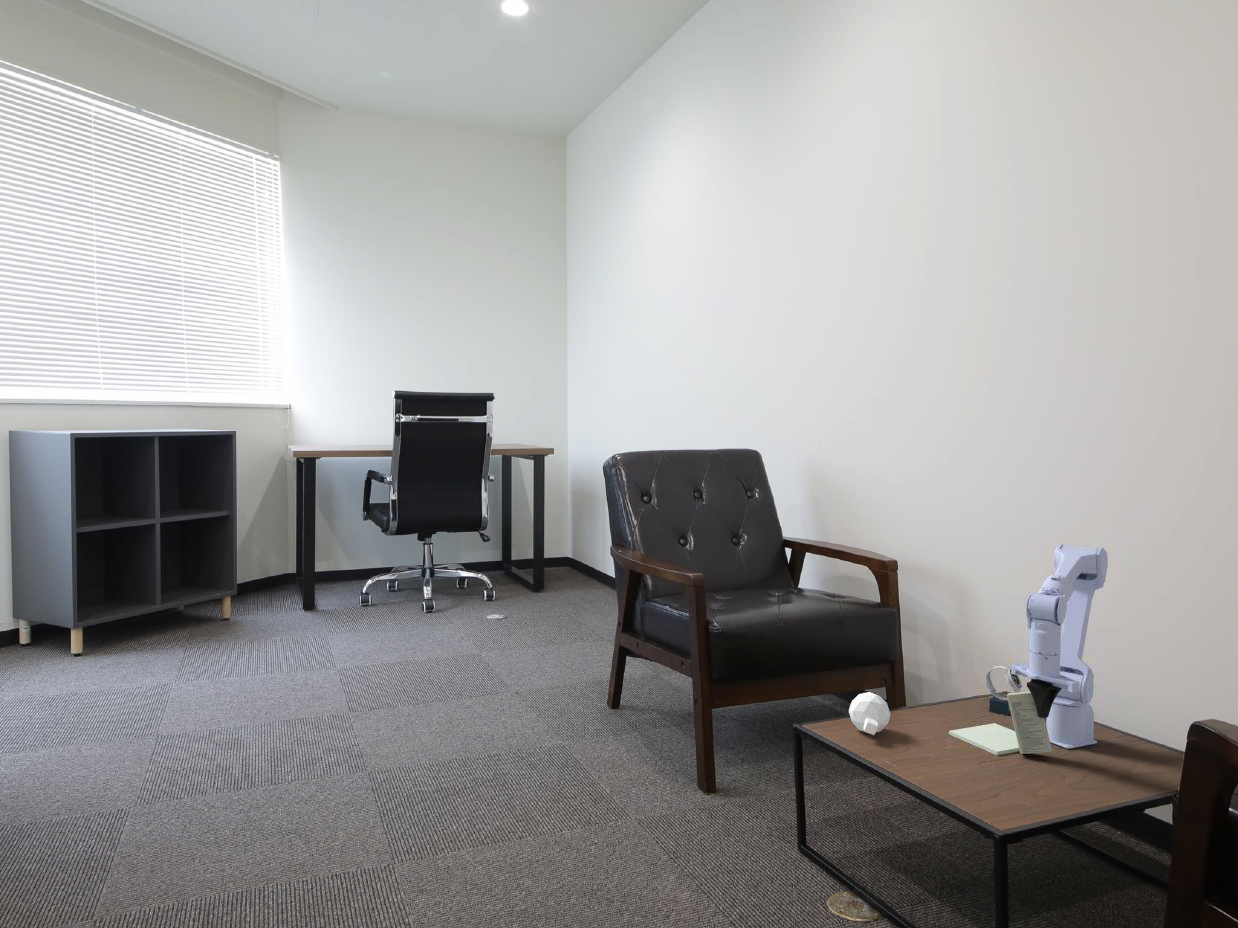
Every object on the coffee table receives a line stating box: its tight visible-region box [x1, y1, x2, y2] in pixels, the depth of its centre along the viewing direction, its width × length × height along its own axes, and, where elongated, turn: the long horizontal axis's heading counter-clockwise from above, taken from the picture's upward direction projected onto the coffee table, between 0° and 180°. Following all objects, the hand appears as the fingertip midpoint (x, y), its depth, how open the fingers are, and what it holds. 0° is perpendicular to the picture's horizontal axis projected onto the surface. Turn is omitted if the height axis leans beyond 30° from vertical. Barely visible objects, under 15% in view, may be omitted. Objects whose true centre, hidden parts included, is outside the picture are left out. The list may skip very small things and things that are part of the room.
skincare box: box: [1006, 691, 1053, 755], centre depth 171 cm, size 6×4×12 cm
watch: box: [984, 665, 1023, 717], centre depth 199 cm, size 6×8×11 cm
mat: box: [948, 722, 1020, 756], centre depth 179 cm, size 14×13×1 cm
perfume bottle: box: [848, 691, 891, 736], centre depth 182 cm, size 9×9×12 cm
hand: (1043, 716), depth 168 cm, fingers closed
